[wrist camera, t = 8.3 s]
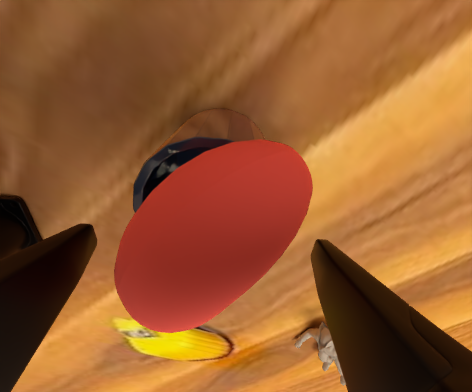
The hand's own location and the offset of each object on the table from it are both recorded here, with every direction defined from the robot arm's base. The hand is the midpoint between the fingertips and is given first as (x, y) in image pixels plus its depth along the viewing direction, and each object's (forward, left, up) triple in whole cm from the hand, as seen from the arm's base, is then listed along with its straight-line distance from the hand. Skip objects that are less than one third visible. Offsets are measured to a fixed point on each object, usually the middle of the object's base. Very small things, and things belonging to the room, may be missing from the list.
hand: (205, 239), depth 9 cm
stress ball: (0, 0, -2) cm, 2 cm away
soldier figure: (-24, -15, -10) cm, 30 cm away
